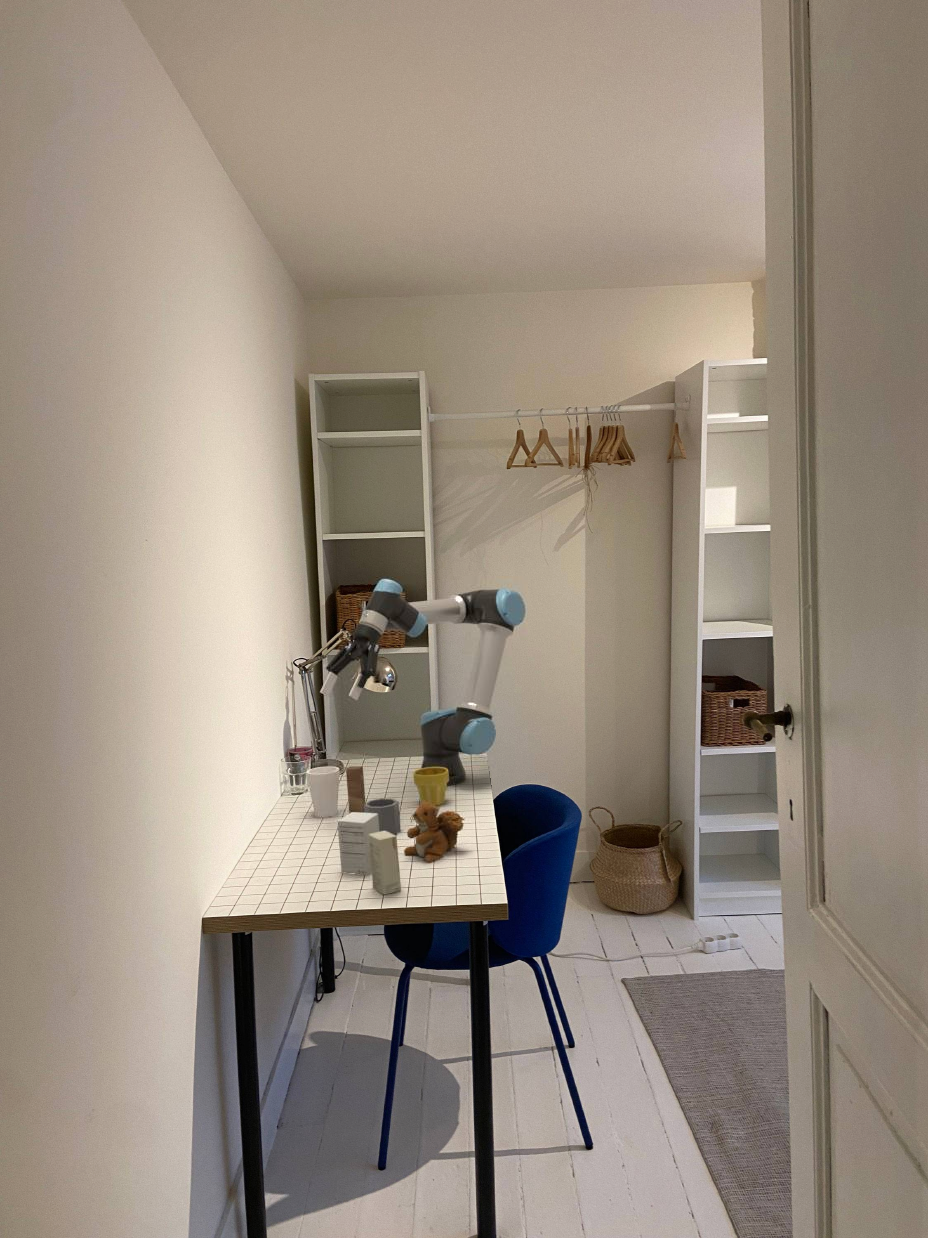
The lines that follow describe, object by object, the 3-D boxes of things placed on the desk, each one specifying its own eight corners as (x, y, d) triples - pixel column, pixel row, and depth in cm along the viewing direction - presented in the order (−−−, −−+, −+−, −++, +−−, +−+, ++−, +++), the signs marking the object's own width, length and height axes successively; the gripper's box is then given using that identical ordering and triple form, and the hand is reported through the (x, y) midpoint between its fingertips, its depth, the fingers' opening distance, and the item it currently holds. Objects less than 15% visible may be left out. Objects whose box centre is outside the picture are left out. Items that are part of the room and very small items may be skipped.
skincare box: (401, 891, 192) (398, 836, 191) (383, 896, 190) (379, 840, 189) (389, 882, 198) (385, 829, 197) (371, 887, 196) (367, 833, 195)
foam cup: (335, 819, 250) (332, 774, 250) (305, 819, 252) (301, 774, 251) (346, 809, 260) (343, 766, 259) (317, 809, 262) (313, 766, 261)
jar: (375, 827, 241) (373, 798, 240) (404, 828, 238) (402, 799, 237) (361, 837, 232) (359, 807, 232) (392, 838, 230) (389, 808, 229)
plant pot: (428, 810, 253) (425, 777, 253) (408, 804, 262) (406, 771, 261) (457, 803, 259) (455, 770, 259) (437, 796, 268) (435, 765, 267)
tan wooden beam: (353, 822, 246) (349, 766, 245) (366, 823, 245) (362, 766, 243) (350, 825, 243) (345, 768, 242) (363, 826, 242) (359, 768, 241)
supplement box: (355, 862, 213) (351, 811, 212) (382, 865, 210) (379, 812, 209) (340, 873, 206) (336, 820, 205) (368, 876, 203) (364, 822, 202)
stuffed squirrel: (400, 855, 216) (397, 802, 215) (449, 842, 224) (446, 791, 223) (421, 865, 208) (417, 810, 207) (471, 851, 215) (467, 798, 215)
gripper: (335, 622, 257) (303, 687, 249) (388, 623, 238) (355, 692, 231) (353, 635, 261) (322, 699, 254) (406, 636, 243) (375, 705, 235)
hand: (338, 696), depth 242 cm, fingers open, 13 cm apart
